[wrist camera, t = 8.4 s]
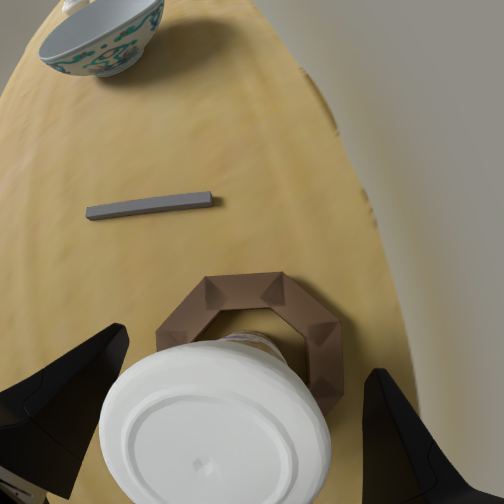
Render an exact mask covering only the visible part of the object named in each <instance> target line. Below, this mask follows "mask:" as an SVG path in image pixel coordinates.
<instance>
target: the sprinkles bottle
mask: <svg viewBox="0 0 504 504" xmlns="http://www.w3.org/2000/svg"><path fill="white" fill-rule="evenodd" d="M99 436H100V444H101V449H102V453H103V457H104V459H105V462H106V464H107V467H108V469H109V471H110V472H111V474H112V476H113V477H114V479H115V480H116V482H117V483H118V485H119V486H120V488H121V489H122V490H123V491H124V492H125V493H126V495H127V496H128V497H129V498H130V499H131V500H132V501H133V502H134V503H135V504H311V503H312V502H313V501H314V500H315V498H316V497H317V496H318V494H319V492H320V491H321V489H322V487H323V486H324V483H325V481H326V478H327V476H328V473H329V469H330V463H331V453H332V445H331V438H330V434H329V430H328V426H327V423H326V421H325V419H324V417H323V415H322V412H321V410H320V408H319V407H318V405H317V403H316V401H315V399H314V398H313V396H312V394H311V393H310V391H309V390H308V388H307V387H306V385H305V384H304V383H303V381H302V380H301V379H300V377H299V376H298V375H297V374H296V373H295V372H294V371H293V370H291V369H290V368H289V367H288V365H287V363H286V361H285V359H284V358H283V356H282V355H281V353H280V351H279V348H278V347H277V345H276V344H274V342H273V341H272V340H271V339H270V338H269V337H267V336H265V335H263V334H261V333H258V332H254V331H247V330H244V331H238V332H234V333H232V334H229V335H228V336H226V337H223V338H220V339H218V340H211V341H199V342H193V343H188V344H183V345H179V346H176V347H172V348H169V349H166V350H162V351H159V352H156V353H154V354H152V355H149V356H147V357H145V358H143V359H142V360H140V361H138V362H137V363H135V364H134V365H132V366H131V367H130V368H128V369H127V370H126V371H125V372H124V373H123V374H122V375H121V376H120V377H119V378H118V379H117V380H116V381H115V383H114V384H113V385H112V387H111V388H110V390H109V392H108V394H107V396H106V398H105V401H104V403H103V406H102V410H101V414H100V421H99Z"/></svg>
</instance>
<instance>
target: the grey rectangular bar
mask: <svg viewBox="0 0 504 504" xmlns="http://www.w3.org/2000/svg"><path fill="white" fill-rule="evenodd" d="M202 207H212V194H211V192H210V191H207V192H197V193H187V194H178V195H170V196H161V197H153V198H146V199H139V200H131V201H125V202H118V203H111V204H105V205H99V206H93V207H87V209H86V216H85V217H86V218H87V219H89V220H90V221H92V220H98V219H106V218H113V217H120V216H128V215H136V214H144V213H153V212H162V211H171V210H181V209H191V208H202Z"/></svg>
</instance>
